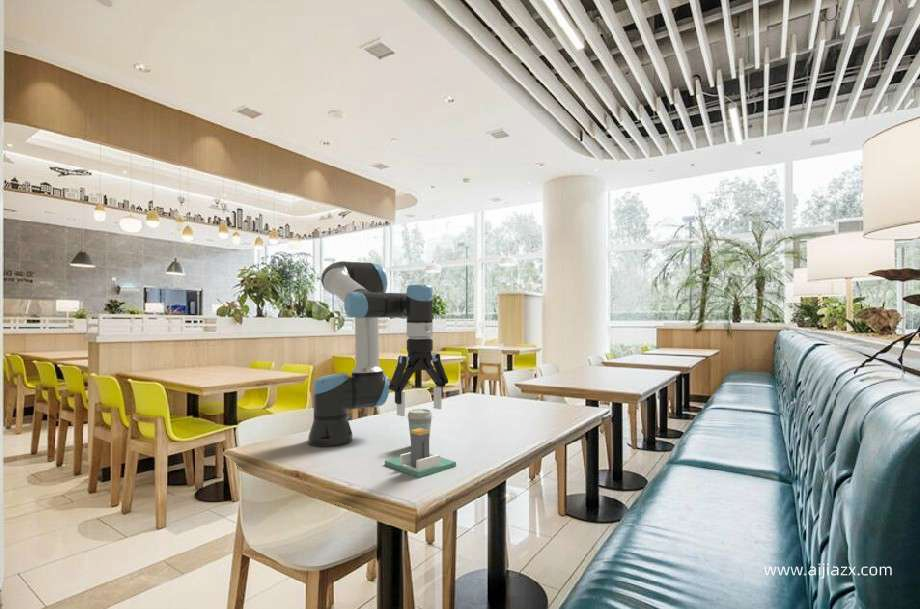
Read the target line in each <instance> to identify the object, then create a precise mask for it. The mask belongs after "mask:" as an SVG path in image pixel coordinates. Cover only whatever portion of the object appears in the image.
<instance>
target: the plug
mask: <svg viewBox="0 0 920 609" xmlns="http://www.w3.org/2000/svg"><path fill="white" fill-rule="evenodd" d="M410 452H411V465H412V466H415V467H416V460H419V459H423V458H426V457H429V454H430V438H429V430H426V429H422V428H418V429H414V430H411V439H410Z"/></svg>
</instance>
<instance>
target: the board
mask: <svg viewBox="0 0 920 609" xmlns="http://www.w3.org/2000/svg"><path fill="white" fill-rule="evenodd" d="M384 465H385V466H387V467H390V468H392V469H394V470H398V471H401V472H403V473H406V474H409V475H411V476H413V477H416V478H423V477H426V476H429V475H432V474H436V473H438V472H442V471H445V470H448V469H451V468H454V467H457V462H456V461H454V460H451V459H447V458H444V457H441V455H440V454H438V453H437V454H432V453H429V457H426V458H423V459H419V460H416V467H415V466H412V465H411V451H409V452H405V453H402V454H399V456H398V457H393V458H389V459H386V460H384Z"/></svg>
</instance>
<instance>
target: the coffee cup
mask: <svg viewBox="0 0 920 609" xmlns="http://www.w3.org/2000/svg"><path fill="white" fill-rule="evenodd" d="M406 418H407V420H408V427H409V428H408V430H409V437H410V440H411V430H414V429H418V428H422V429H426V430H429V439H430V438H431V437H430V436H431V428H432V418H433V413H432V411H431V410H430V409H428V408H418V409H417V408H416V409H415V408H414V409H411V410H409V411H408V414H407V417H406Z"/></svg>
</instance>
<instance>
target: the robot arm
mask: <svg viewBox="0 0 920 609" xmlns="http://www.w3.org/2000/svg"><path fill="white" fill-rule="evenodd" d="M320 281H321V285H322V287H323V288H324V289H325V291H326V292H328V293H329V294H331V295H336V296H337V298H338V299H340V300H341V301H342V302H343V305H344V306H343V307H344V308H343V309H344V312H345V315H346V316H347V317H349V318H354V328H355V329H354V332H355V333H354V334H355V335H354V337H355V338H354V339H355V344H354V345H355V367H354V369H353V370H352V371H351V376H348V374H347V373H334V374H328V375H323V376H320V377H318V378H316V379H315V380H314V383H313V392H312V394H313V421H312V424H311V427H310V430H309V434H308V440H307V442H308V443H307V444H308V445H311V446H313V447H320V448H321V447H323V448H324V447H326V448H327V447H337V446H341V445H345V444H348V443H351V442H352V441H353V431H352V428H351V425H350V421H349V418H348V411H349V410H357V409H358V410H359V409H367V408H370V409H373V408H376V407H381V406H384V405H385V403H386V401H388V398H389V395H390V394H389V393H390V391H392V392H394V403H395V404H396V415H397V416H398V417H399V416H400V417H405V416H406V414H405V413H406V409H405V408H406V402H405V401H406V398H405V397H406V395H405V394H406V392H404V389H405V388H406V386H407V384H408V383H409V382H410V379H411V378H412V376H413V375H414V374H415V373H416V372H420V371H425V372H426V373H427V375H428V376H429V377H430V378H431V381H433V383H434V384H435V385H434V386H433V409H436V410H442V398H443V396H444V388H445V387H446V386H447V384H448V383H449V379H448V377H447V374H446V372H445V368H444V366H443V363H442V361H441V354H440V353H432V352H433V350H434V348H433V347H434V345H433V344H434V343H433V341H434V340H433V339H432V337H433V336H434V335H433V334H434V333H433V332H434V330H433V328H434V326H433V324H434V323H433V320H434V319H433V315H434V314H433V313H434V308H433V307H434V297H433V287H432V286H431V285H430V284H409V285H407V287H406V292H405V293H404V292H387V289H388V276H387V272H386V270H385V268H384V267H383V265H381V264H379V263H373V262H362V261H361V262H359V261H357V262H356V261H347V260H346V261H345V260H342V261H337V262H334V263H331V264H329V265H328V266H326V268H324V270H323V272H322V273H321V278H320ZM379 318H384V319H385V318H393V319H395V318H397V319H398V318H399V319H402V318H403V319H406V337H407V340H406V352H407V356H406V355H399V356H398V358H397V365H396V367H395V370H394V372H393V375H392V377H391V380H389V377H388V376H387V374H384V369H382V367H381V366H380V346H379V345H380V344H379V343H380V342H379V340H380V339H379V334H380V333H379Z"/></svg>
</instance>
